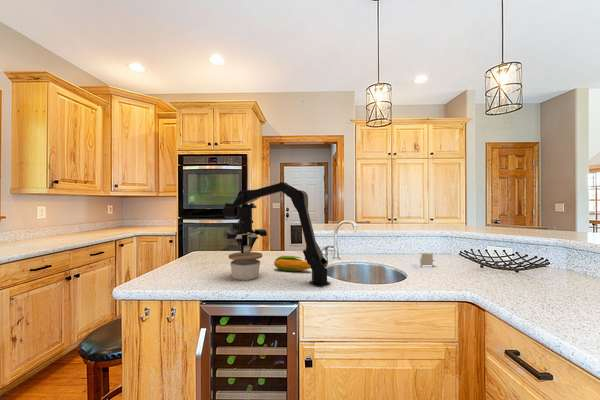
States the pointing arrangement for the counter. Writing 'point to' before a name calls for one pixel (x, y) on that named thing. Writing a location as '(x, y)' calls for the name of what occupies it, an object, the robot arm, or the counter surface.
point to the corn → (291, 263)
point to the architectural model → (426, 259)
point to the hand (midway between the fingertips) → (245, 252)
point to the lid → (245, 254)
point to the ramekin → (245, 269)
